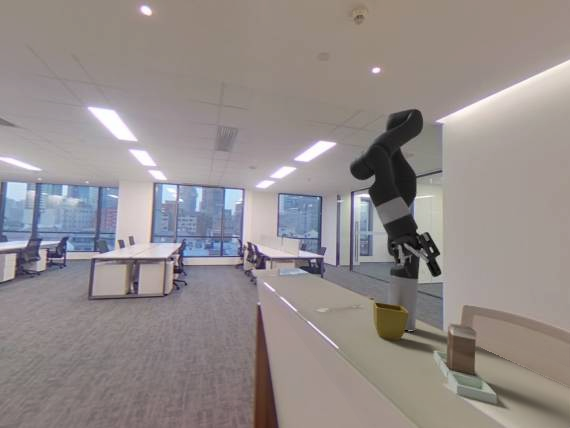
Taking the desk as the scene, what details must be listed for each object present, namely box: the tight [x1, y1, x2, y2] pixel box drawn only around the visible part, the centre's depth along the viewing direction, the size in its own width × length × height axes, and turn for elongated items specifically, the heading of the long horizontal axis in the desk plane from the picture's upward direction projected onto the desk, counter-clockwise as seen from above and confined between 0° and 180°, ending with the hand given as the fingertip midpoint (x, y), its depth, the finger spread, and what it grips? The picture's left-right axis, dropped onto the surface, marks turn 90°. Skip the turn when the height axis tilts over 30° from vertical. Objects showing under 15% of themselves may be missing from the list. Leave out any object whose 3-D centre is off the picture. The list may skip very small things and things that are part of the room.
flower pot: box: [372, 301, 409, 341], centre depth 79 cm, size 9×9×9 cm
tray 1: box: [433, 350, 447, 367], centre depth 62 cm, size 6×6×2 cm
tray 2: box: [439, 360, 483, 380], centre depth 56 cm, size 6×6×2 cm
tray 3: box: [447, 372, 498, 405], centre depth 50 cm, size 6×6×2 cm
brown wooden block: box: [446, 322, 477, 376], centre depth 57 cm, size 4×4×10 cm
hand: (425, 276), depth 67 cm, fingers open, 8 cm apart
